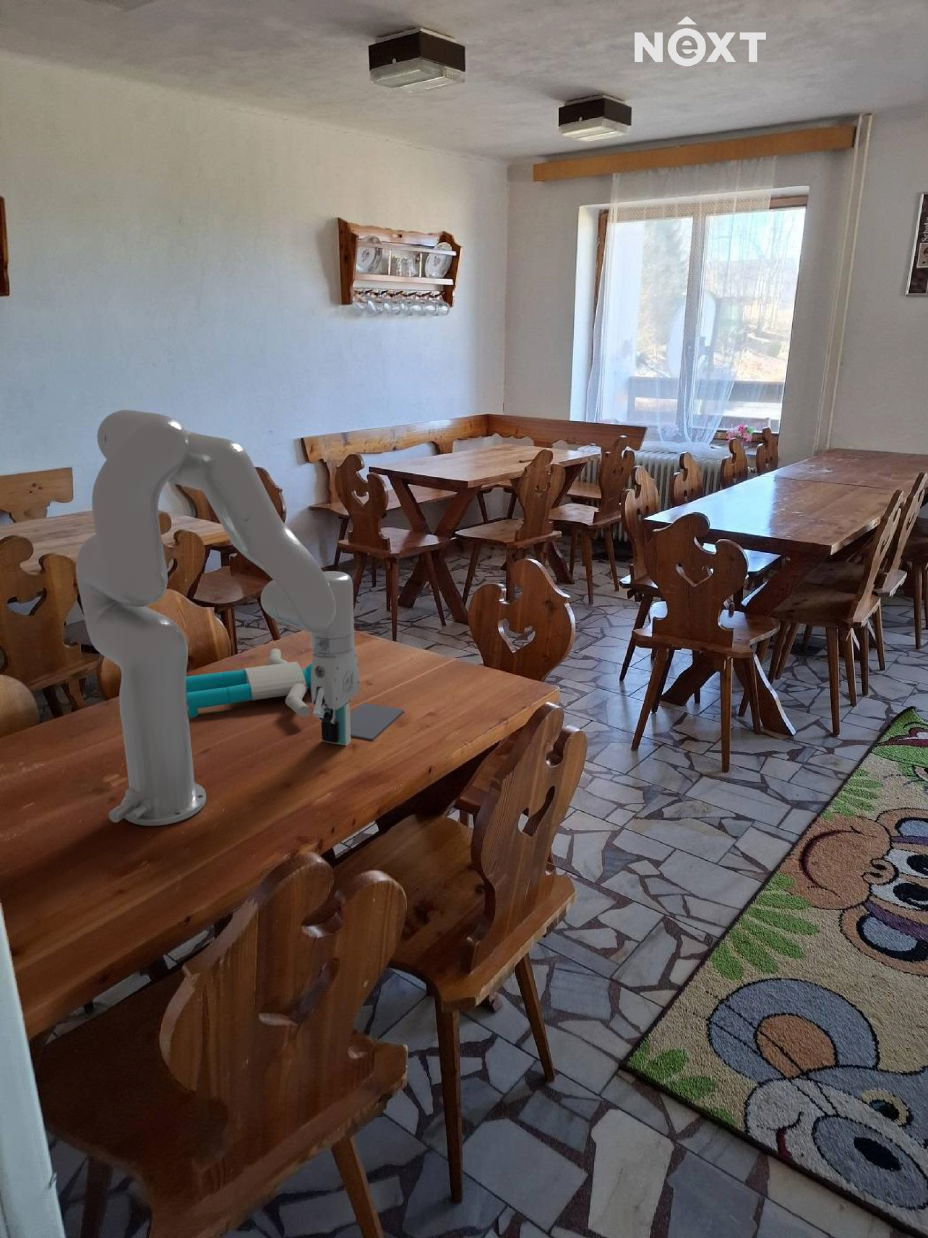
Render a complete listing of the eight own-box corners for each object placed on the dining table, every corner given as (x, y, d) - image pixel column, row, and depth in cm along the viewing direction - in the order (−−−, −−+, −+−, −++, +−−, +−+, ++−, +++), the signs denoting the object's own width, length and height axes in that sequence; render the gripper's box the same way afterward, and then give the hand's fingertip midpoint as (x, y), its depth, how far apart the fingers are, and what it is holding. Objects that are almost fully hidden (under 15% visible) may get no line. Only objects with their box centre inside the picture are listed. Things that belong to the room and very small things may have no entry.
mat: (372, 740, 156) (372, 738, 156) (329, 732, 159) (329, 730, 159) (404, 711, 168) (404, 709, 168) (363, 704, 171) (363, 702, 171)
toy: (194, 746, 154) (355, 720, 164) (190, 713, 152) (353, 689, 162) (182, 679, 185) (319, 661, 195) (179, 651, 182) (317, 634, 193)
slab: (345, 746, 153) (344, 706, 151) (321, 742, 155) (319, 701, 152) (350, 742, 155) (349, 701, 153) (326, 737, 157) (325, 697, 154)
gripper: (328, 660, 140) (332, 759, 146) (372, 630, 155) (374, 722, 161) (289, 654, 143) (294, 752, 149) (336, 625, 158) (339, 716, 163)
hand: (335, 735), depth 155 cm, fingers open, 3 cm apart
